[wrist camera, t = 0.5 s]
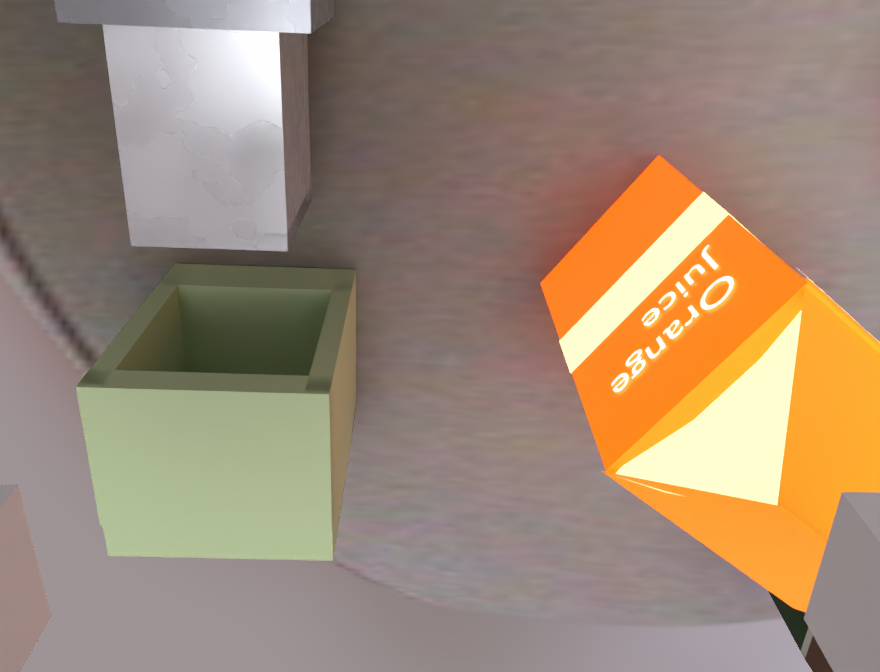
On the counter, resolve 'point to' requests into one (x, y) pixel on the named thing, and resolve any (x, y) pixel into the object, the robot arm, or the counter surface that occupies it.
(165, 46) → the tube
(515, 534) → the counter surface
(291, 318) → the socket
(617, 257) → the orange juice
